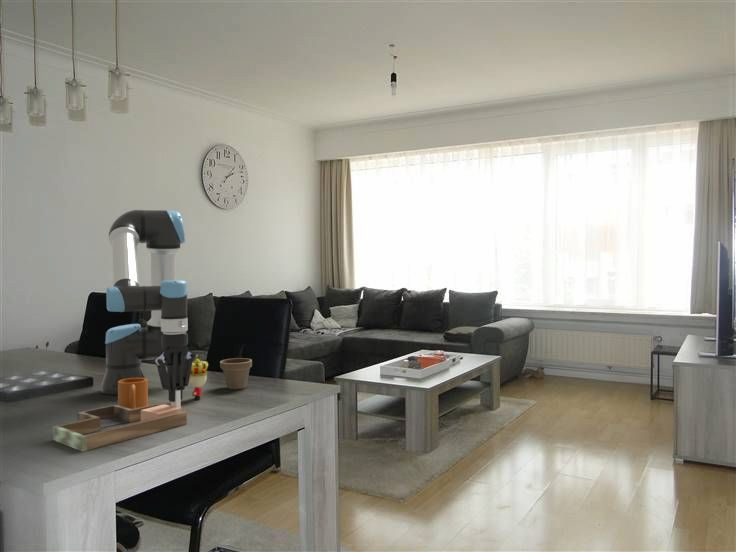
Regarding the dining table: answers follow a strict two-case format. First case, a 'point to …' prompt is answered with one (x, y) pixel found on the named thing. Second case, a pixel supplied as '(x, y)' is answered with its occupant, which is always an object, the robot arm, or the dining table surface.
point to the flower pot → (236, 372)
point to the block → (158, 412)
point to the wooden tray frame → (110, 417)
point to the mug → (133, 392)
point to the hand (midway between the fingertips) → (175, 411)
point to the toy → (198, 377)
